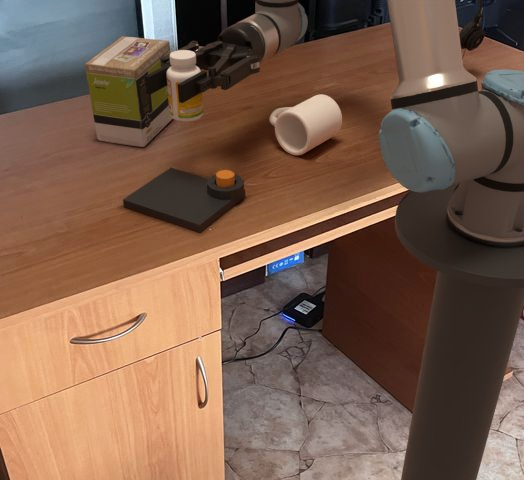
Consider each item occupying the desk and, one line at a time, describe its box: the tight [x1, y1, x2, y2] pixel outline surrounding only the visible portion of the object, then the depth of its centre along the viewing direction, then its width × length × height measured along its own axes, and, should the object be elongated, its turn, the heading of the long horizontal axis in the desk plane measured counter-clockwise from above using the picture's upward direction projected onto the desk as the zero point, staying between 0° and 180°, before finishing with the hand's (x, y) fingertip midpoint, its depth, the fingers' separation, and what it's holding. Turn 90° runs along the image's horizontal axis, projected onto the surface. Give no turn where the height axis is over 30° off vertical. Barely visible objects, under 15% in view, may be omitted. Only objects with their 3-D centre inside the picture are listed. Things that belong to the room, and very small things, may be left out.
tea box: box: [85, 35, 174, 148], centre depth 144 cm, size 15×10×15 cm, turn 161°
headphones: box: [459, 0, 486, 60], centre depth 165 cm, size 15×11×20 cm
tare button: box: [215, 169, 236, 187], centre depth 127 cm, size 3×3×2 cm
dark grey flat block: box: [122, 167, 246, 233], centre depth 127 cm, size 15×14×3 cm
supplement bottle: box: [167, 49, 204, 122], centre depth 122 cm, size 5×5×10 cm
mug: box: [269, 93, 343, 156], centre depth 142 cm, size 12×10×8 cm
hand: (163, 89), depth 118 cm, fingers closed on supplement bottle, 5 cm apart
